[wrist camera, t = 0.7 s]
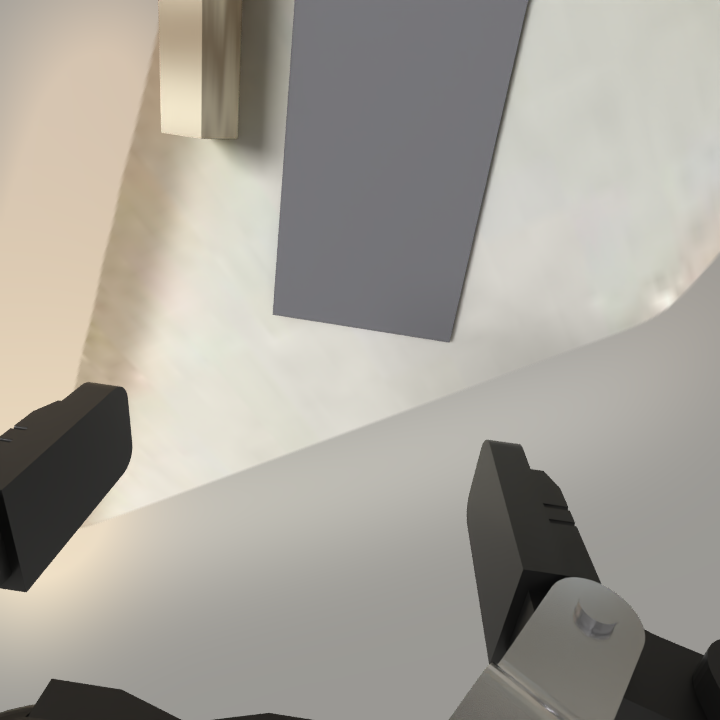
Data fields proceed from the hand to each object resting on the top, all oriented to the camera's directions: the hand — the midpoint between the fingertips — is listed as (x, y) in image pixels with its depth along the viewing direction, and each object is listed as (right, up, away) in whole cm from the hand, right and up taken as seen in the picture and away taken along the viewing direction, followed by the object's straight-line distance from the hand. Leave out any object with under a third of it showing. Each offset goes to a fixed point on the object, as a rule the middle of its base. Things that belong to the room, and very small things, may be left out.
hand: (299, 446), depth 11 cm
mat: (+3, +13, +19) cm, 23 cm away
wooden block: (-6, +19, +17) cm, 27 cm away
